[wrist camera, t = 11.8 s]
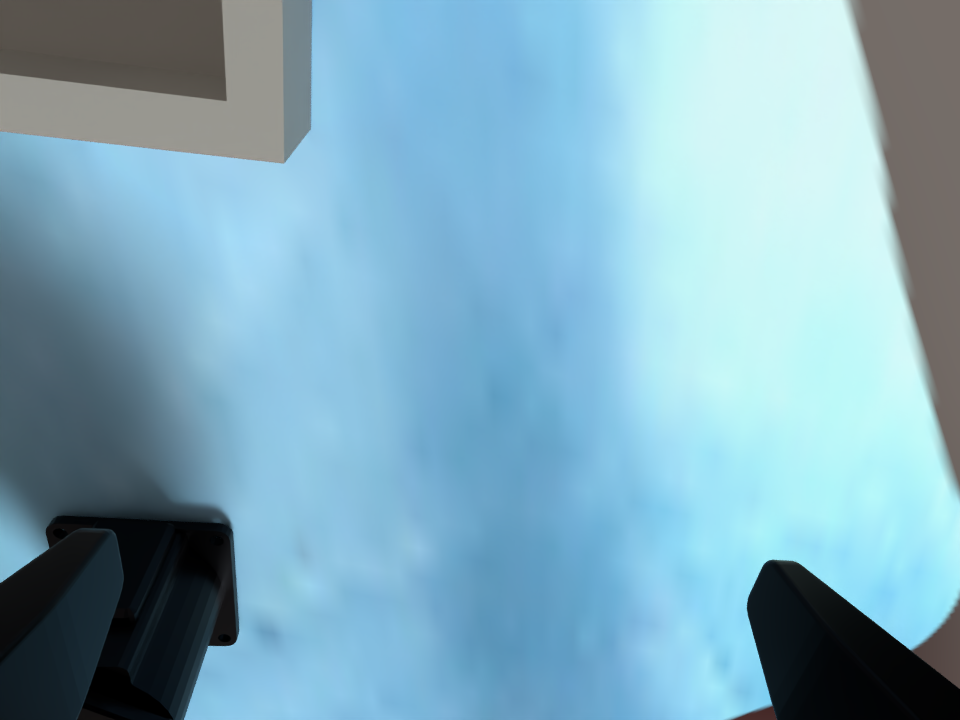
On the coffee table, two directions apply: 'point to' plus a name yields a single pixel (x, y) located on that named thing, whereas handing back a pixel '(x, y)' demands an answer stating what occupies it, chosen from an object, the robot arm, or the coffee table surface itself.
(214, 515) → the coffee table surface
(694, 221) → the coffee table surface
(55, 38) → the bin
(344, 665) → the coffee table surface
